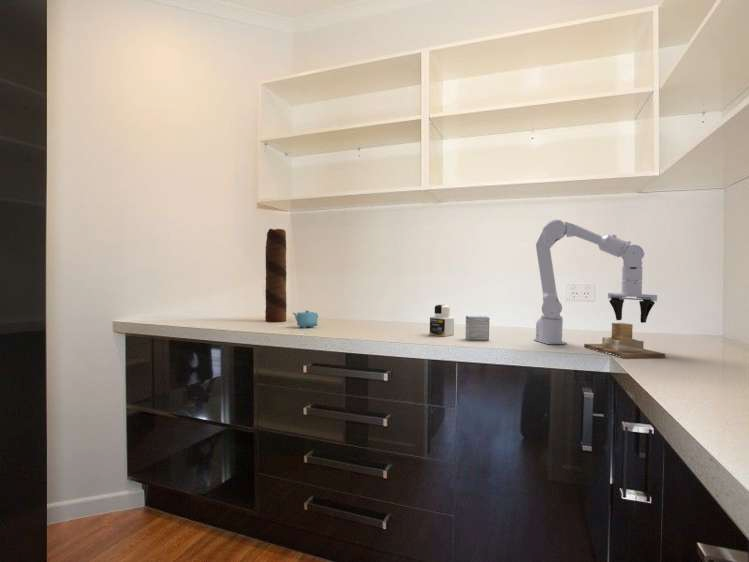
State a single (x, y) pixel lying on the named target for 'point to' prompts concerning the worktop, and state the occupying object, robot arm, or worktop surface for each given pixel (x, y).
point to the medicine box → (477, 328)
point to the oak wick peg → (622, 331)
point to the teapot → (306, 319)
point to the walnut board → (625, 348)
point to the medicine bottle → (442, 322)
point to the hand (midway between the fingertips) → (630, 321)
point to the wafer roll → (276, 276)
